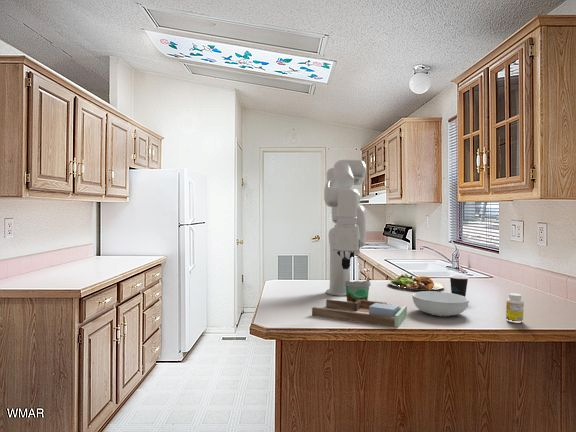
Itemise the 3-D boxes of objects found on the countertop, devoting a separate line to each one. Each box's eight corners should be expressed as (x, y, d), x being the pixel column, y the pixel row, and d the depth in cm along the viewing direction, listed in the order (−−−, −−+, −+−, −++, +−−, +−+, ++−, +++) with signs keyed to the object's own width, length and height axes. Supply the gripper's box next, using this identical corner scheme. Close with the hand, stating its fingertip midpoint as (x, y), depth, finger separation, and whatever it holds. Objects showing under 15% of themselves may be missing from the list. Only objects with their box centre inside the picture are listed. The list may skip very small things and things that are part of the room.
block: (375, 317, 162) (375, 302, 162) (399, 320, 157) (399, 305, 157) (368, 321, 156) (369, 306, 156) (393, 325, 151) (393, 309, 151)
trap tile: (361, 308, 175) (361, 307, 175) (381, 310, 171) (381, 310, 171) (358, 310, 170) (358, 310, 170) (378, 313, 167) (378, 312, 167)
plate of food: (379, 283, 233) (379, 272, 232) (424, 281, 240) (424, 270, 240) (406, 295, 206) (406, 283, 205) (456, 292, 213) (456, 280, 213)
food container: (352, 307, 176) (353, 283, 176) (344, 304, 182) (344, 280, 181) (376, 304, 182) (376, 281, 182) (367, 301, 187) (367, 278, 187)
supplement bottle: (508, 319, 161) (508, 292, 160) (524, 322, 157) (525, 294, 157) (504, 322, 156) (505, 294, 156) (521, 325, 153) (522, 296, 153)
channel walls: (331, 303, 182) (332, 296, 182) (406, 312, 169) (406, 304, 169) (311, 315, 162) (312, 307, 162) (394, 326, 149) (394, 318, 149)
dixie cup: (466, 300, 193) (467, 275, 193) (469, 303, 185) (470, 278, 185) (447, 298, 195) (448, 274, 195) (449, 302, 187) (450, 277, 187)
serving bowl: (463, 324, 154) (463, 304, 153) (405, 315, 165) (405, 297, 165) (472, 312, 171) (473, 294, 171) (419, 305, 182) (420, 288, 182)
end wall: (403, 315, 163) (403, 305, 163) (406, 316, 163) (406, 305, 163) (394, 326, 149) (394, 315, 148) (398, 327, 148) (398, 315, 148)
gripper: (325, 221, 164) (324, 268, 165) (363, 222, 157) (362, 272, 159) (331, 219, 171) (330, 265, 172) (368, 221, 164) (367, 268, 165)
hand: (345, 268), depth 165 cm, fingers closed
